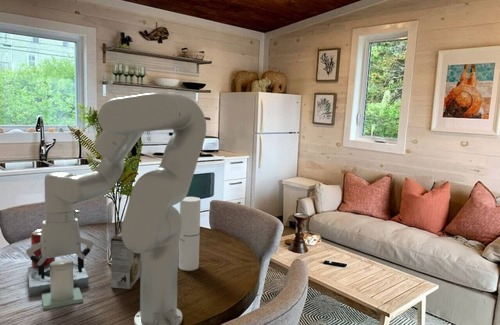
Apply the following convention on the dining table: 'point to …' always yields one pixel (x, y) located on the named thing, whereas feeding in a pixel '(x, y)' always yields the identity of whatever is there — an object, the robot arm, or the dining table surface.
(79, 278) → the housing
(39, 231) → the soda can
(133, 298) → the dining table surface
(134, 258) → the coffee box
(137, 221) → the robot arm
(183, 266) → the cylindrical container
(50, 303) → the mat
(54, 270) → the white rounded cylinder
